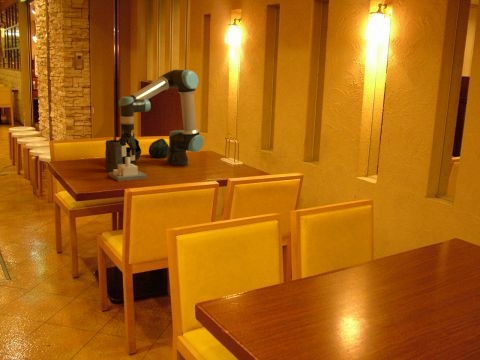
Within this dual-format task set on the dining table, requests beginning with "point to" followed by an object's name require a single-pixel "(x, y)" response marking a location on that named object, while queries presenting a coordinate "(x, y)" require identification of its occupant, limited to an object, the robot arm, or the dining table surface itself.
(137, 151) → the coal bowl
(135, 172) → the square ring
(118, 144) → the beer stein
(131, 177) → the post board
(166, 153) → the squash
